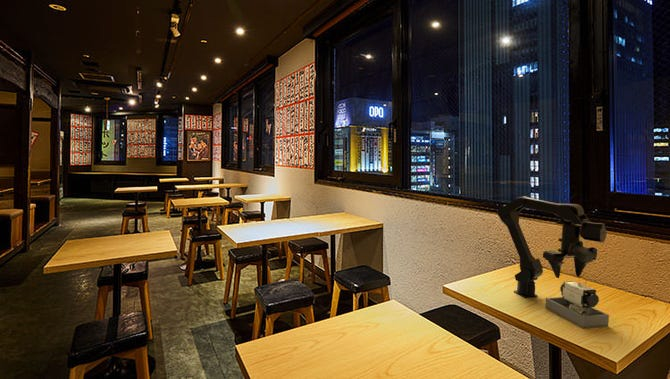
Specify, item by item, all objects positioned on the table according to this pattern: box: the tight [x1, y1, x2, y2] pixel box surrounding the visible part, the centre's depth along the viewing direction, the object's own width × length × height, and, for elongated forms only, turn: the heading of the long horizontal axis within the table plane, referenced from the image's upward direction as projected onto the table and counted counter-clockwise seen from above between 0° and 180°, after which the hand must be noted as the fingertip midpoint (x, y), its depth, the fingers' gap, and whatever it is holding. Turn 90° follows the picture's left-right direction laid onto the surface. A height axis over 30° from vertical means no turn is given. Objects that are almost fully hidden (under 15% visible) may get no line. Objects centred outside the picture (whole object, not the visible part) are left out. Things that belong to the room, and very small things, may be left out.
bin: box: [544, 296, 610, 329], centre depth 124 cm, size 16×10×4 cm, turn 11°
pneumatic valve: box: [559, 280, 600, 316], centre depth 124 cm, size 6×12×12 cm, turn 11°
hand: (567, 277), depth 131 cm, fingers open, 9 cm apart
